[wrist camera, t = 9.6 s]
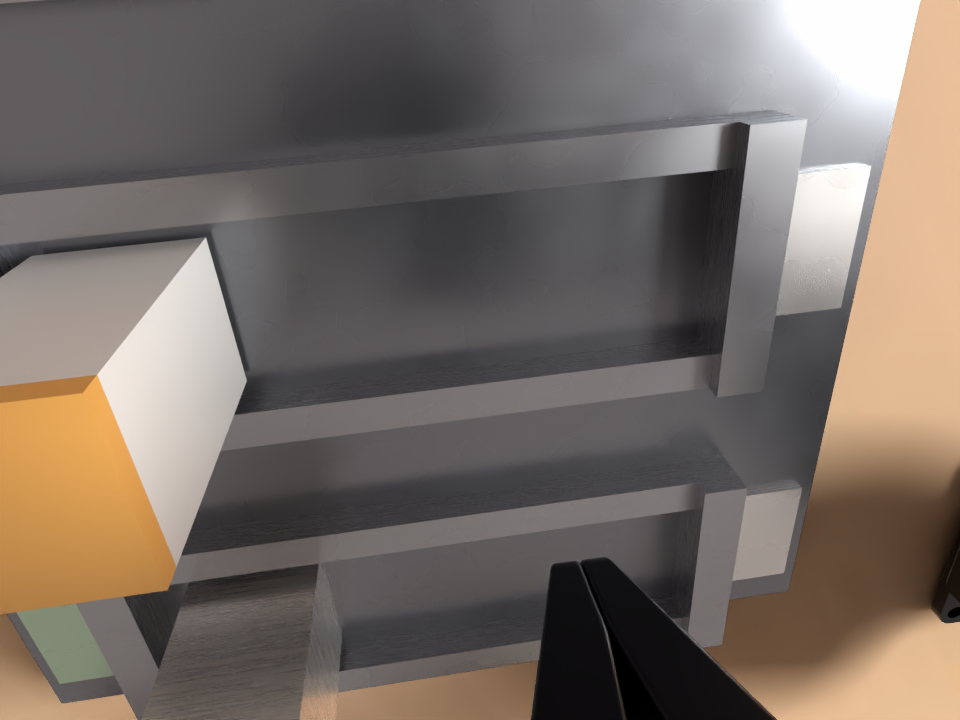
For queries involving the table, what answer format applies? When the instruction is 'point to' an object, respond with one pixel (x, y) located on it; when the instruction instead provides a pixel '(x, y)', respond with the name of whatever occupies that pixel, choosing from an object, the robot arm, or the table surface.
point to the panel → (459, 309)
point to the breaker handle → (108, 417)
